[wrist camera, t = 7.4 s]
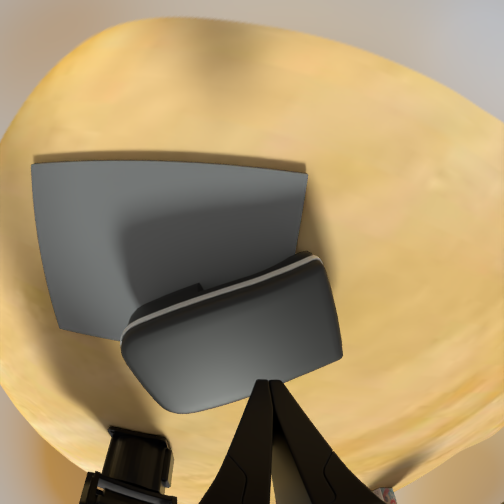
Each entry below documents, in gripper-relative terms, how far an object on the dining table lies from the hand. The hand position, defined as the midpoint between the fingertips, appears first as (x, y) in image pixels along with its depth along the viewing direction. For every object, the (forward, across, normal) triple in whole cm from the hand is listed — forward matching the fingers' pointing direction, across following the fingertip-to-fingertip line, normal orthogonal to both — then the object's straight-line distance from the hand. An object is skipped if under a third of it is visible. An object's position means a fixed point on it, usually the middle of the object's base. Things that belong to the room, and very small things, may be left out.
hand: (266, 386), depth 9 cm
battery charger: (+7, -4, 0) cm, 8 cm away
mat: (+8, +6, 0) cm, 10 cm away
